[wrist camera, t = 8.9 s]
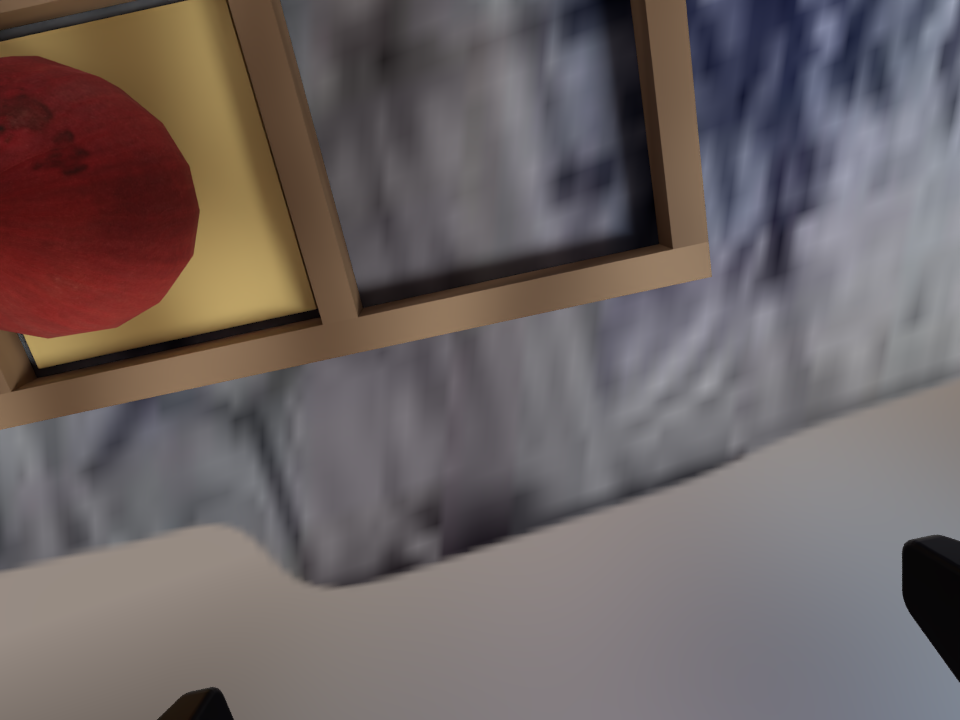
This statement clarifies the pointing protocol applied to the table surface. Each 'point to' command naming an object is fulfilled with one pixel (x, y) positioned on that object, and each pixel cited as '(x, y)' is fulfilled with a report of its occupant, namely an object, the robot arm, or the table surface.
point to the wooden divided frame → (305, 208)
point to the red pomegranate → (85, 202)
